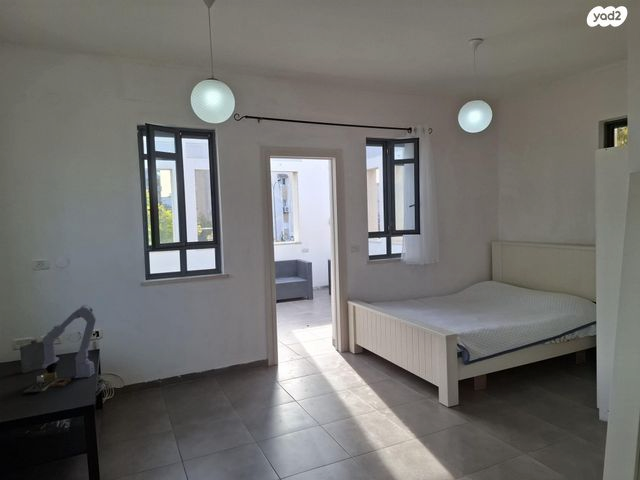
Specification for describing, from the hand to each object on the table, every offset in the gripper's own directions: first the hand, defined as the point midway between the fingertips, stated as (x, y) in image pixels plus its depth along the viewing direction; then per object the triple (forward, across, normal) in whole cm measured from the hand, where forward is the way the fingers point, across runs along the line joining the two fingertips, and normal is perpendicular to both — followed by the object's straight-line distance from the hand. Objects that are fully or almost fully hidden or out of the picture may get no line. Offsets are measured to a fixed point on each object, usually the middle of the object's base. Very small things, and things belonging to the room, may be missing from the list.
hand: (51, 375), depth 260 cm
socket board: (+3, +12, 0) cm, 12 cm away
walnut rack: (+3, +8, +9) cm, 12 cm away
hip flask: (+3, -25, -24) cm, 35 cm away
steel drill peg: (+3, +12, 0) cm, 12 cm away
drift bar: (+1, +11, 0) cm, 11 cm away
